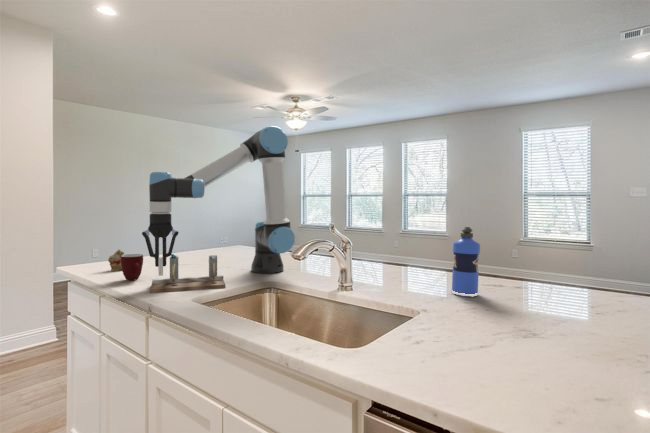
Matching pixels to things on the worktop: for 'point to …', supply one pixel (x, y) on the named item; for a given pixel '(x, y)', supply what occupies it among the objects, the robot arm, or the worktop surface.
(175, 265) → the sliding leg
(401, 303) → the worktop surface
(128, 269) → the mug
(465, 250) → the water bottle
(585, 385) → the worktop surface
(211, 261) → the fixed leg
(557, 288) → the worktop surface
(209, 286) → the brown wooden board
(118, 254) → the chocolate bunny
